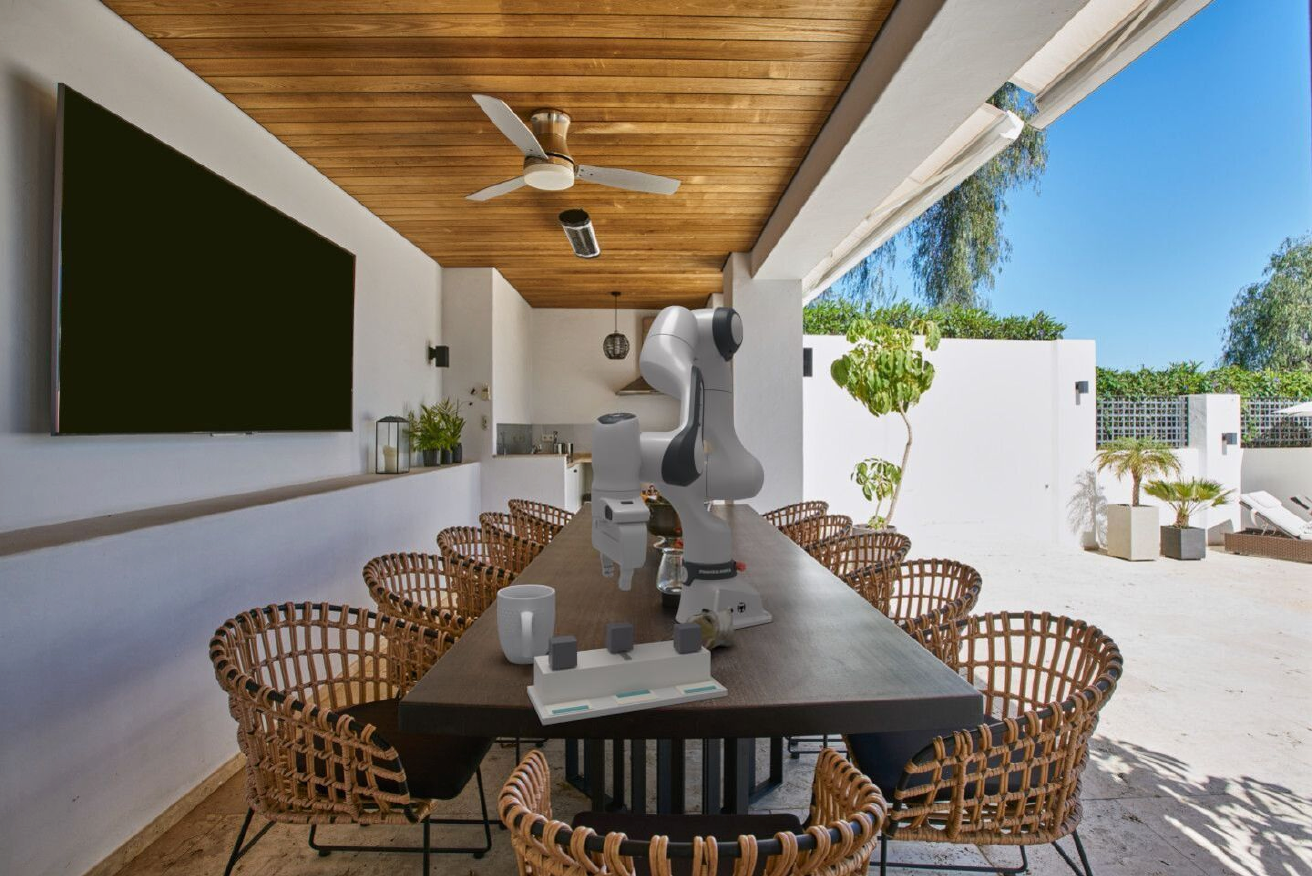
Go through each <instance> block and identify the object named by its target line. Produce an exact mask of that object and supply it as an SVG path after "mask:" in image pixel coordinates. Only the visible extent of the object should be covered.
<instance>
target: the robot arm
mask: <svg viewBox="0 0 1312 876" xmlns="http://www.w3.org/2000/svg"><path fill="white" fill-rule="evenodd" d="M743 326H744V325H743V322H742V318H741V316H740V314H739V313H738V312H737V311H736V310H735V308H732V307H727V306H726V307H725V306H718V307H716V308H698V309H691V310H690V309H688V308H686V307H684V306H680V305H671V306H667V307H665V308H664V309H663V308H662V310H661V311H660V312H659V313H658V315H657V316H656V317H655V319H654V321H652V324H651V326H650V328H649V331H648V333H647V334H646V338H645V339H644V342H643V346H642V348H641V351H640V355H639V360H638V361H639V362H638V363H639V364H638V367H639V370H640V374H641V376H642V378H643V379H644V381H645V382H646V383H647V384H648V385H649V386H651V388H653V389H654V390H656V391H658V392H659V393H662V394H665V395H668V396H670V397H674V398H676V399H678V400H680V412H679V425H678V427H677V428H675V429H674V430H671V431H646V430H642V429H641V428H640V423H639V418H638V416H637V415H636V414H634V413H629V412H614V413H606V414H603V415H600V417H598V418H596V420H595V422H594V426H593V431H592V433H593V434H592V441H591V468H592V470H593V479H592V483H591V494H590V495H591V496H590V497H591V498H590V499H591V502H590V503H591V506H590V507H591V516H592V524H591V543H592V547H593V548H595V549H596V550H597V551H599V557H600V562H601V566H602V576H604V577H605V578H613V577H614V576H615V567H614V564H613V562H614V563H616V564H617V565H619V571H620V576H619V578H618V588H619V589H620V590H621V591H623V592H624V591H630V590H631V588H632V580H633V579H632V578H633V575H634V573H635V569H640V568H641V569H642V568H643V567H644V565H645V562H646V559H647V545H648V544H647V543H648V526H647V523H646V522H649V521H650V518H651V517H650V516H651V513H650V508H649V507H648V505H647V504H646V503H645V501H644V499H643V496H642V483H645V484H647V483H648V484H653V486H654V488H655V491H657V493H658V494H659V495H660V496H661V497H663V498H664V499H665V500H666V501H667V502H669V504H670V505H671V506H672V507H673V509H674V511H675V512H676V514H677V515H678V518H679V521H680V525H681V531H682V542H683V544H682V545H683V547H682V550H683V557H682V559H681V567H680V577H681V579H680V580H681V583H682V585H681V592H680V593H681V594H680V598H679V599H680V600H679V605H678V607H677V608H678V609H677V613H676V616H675V620H676V622H678V624H681V623H685V622H686V621H687V619H688V618H689V617H691V616H693V615H698V614H700V613H701V611H702V609H709V610H712V611H713V612H715V614H717V613H718V612H722V611H725V610H727V609H730V610H731V614H732V621H733V629H734V630H737V629H738V630H739V629H743V628H748V627H753V626H758V625H762V624H763V625H764V624H767V623H772V622H773V615H772V614H771V613H770V612H769V611H768V610H766V609H764V608H763V602H762V597H761V595H760V593H759V591H758V590H757V589H756V588H755V587H753V586H752V585H751V584H749V583H748V582H747V581H746V580H744V579H743V578H742V577H741V576H740V575H738V574H739V573H738V571H739V572H742V573H743V572H745V571H746V569H747V565H746V564H745V562H742V561H735V560H733V559H732V531H731V527H730V525H729V523H728V522H727V521H726V520H725V519H724V518H722V517H720V516H718V515H716V514H714V513H712V512H711V511H709V510H708V509H707V508H706V507H705V501H741V500H746V499H747V500H748V499H752V498H755V497H757V495H758V494H759V493H760V492H761V490H762V488H763V486H764V484H765V483H764V482H765V471H764V468H763V466H762V464H761V462H760V460H758V458H757V457H755V456H754V455H753V454H751V452H749V451H748V450H747V449H746V448H745V446H744V445H743V444H742V442H741V440H740V439H739V437H738V435H737V432H736V428H735V424H734V423H735V422H734V410H733V409H734V408H733V407H734V406H733V403H734V402H733V397H734V396H733V394H734V393H733V391H734V390H733V388H734V387H733V377H732V376H733V375H732V370H731V362H730V361H732V359H733V357H734V355H735V354H736V353H737V352H738V351H739V349H740V347H741V345H742V343H743V339H744V327H743ZM704 441H706V442H707V443H709V445H710V446H711V451H709V452H705V447H704V446H705V445H704Z"/></svg>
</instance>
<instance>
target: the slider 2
mask: <svg viewBox="0 0 1312 876" xmlns="http://www.w3.org/2000/svg"><path fill="white" fill-rule="evenodd" d="M673 634H674V643H673V647H674V648H675V649H676V650H678V651H679V652H680V653H682V652H690V651H698V650H702V627H701V626H700V625H698V624H697V623H695V622H690V623H674V624H673Z"/></svg>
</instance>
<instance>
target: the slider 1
mask: <svg viewBox="0 0 1312 876" xmlns="http://www.w3.org/2000/svg"><path fill="white" fill-rule="evenodd" d="M577 652H578V640H577V638H576V637H575V636H574V635H573V634H571V635H564V636H555V637H552V638H549V649H548V651H547V653H548V654H547V655H548V663H549V664H550V666H551V668H552V669H556V668H564V667H572V666H577Z"/></svg>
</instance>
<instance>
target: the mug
mask: <svg viewBox="0 0 1312 876" xmlns="http://www.w3.org/2000/svg"><path fill="white" fill-rule="evenodd" d="M496 599H497V601H496V621H497V622H496V624H497V631H498V638H499V642H500V646H501V649H502V651H503V653H504V656H505V657H506V658H507V661H509V662H510V663H512V664H516V665H530V664H534V657H538V656H546V655H547V653H548V649H549V638H553V636H554V631H555V630H554V629H555V620H556V590H555V589H554V588H553V587H550V586H548V585H544V584H543V585H541V584H519V585H517V584H516V585H511V586H507V587H504V588H501V589H499V590H498V591H497V595H496Z"/></svg>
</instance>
